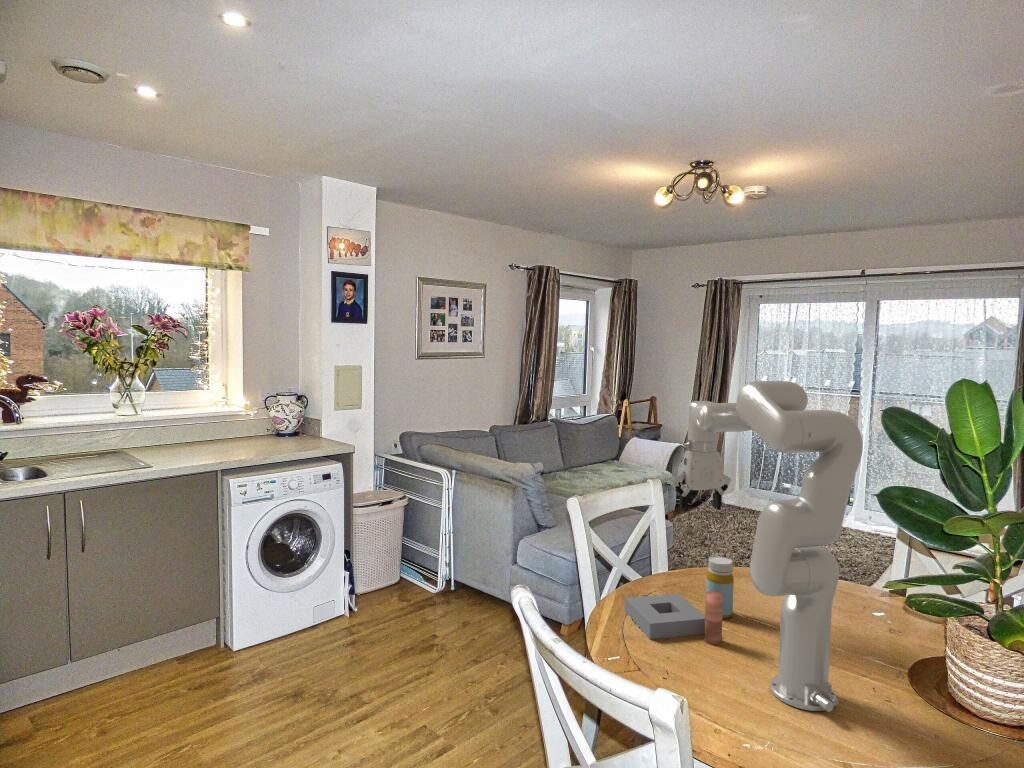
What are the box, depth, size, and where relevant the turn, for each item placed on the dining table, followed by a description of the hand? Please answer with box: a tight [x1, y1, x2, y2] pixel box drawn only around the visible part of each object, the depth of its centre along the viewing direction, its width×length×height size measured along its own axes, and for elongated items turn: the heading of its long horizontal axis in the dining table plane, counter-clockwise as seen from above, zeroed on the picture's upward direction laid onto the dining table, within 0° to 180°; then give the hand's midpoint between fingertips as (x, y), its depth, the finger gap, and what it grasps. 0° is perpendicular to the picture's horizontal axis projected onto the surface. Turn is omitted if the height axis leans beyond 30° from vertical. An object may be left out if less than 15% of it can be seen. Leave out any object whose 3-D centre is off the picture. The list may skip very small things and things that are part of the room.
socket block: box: [624, 593, 705, 640], centre depth 162 cm, size 16×16×4 cm
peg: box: [704, 591, 723, 646], centre depth 152 cm, size 4×4×12 cm
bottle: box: [705, 556, 735, 620], centre depth 168 cm, size 7×7×15 cm
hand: (700, 509), depth 168 cm, fingers open, 9 cm apart
